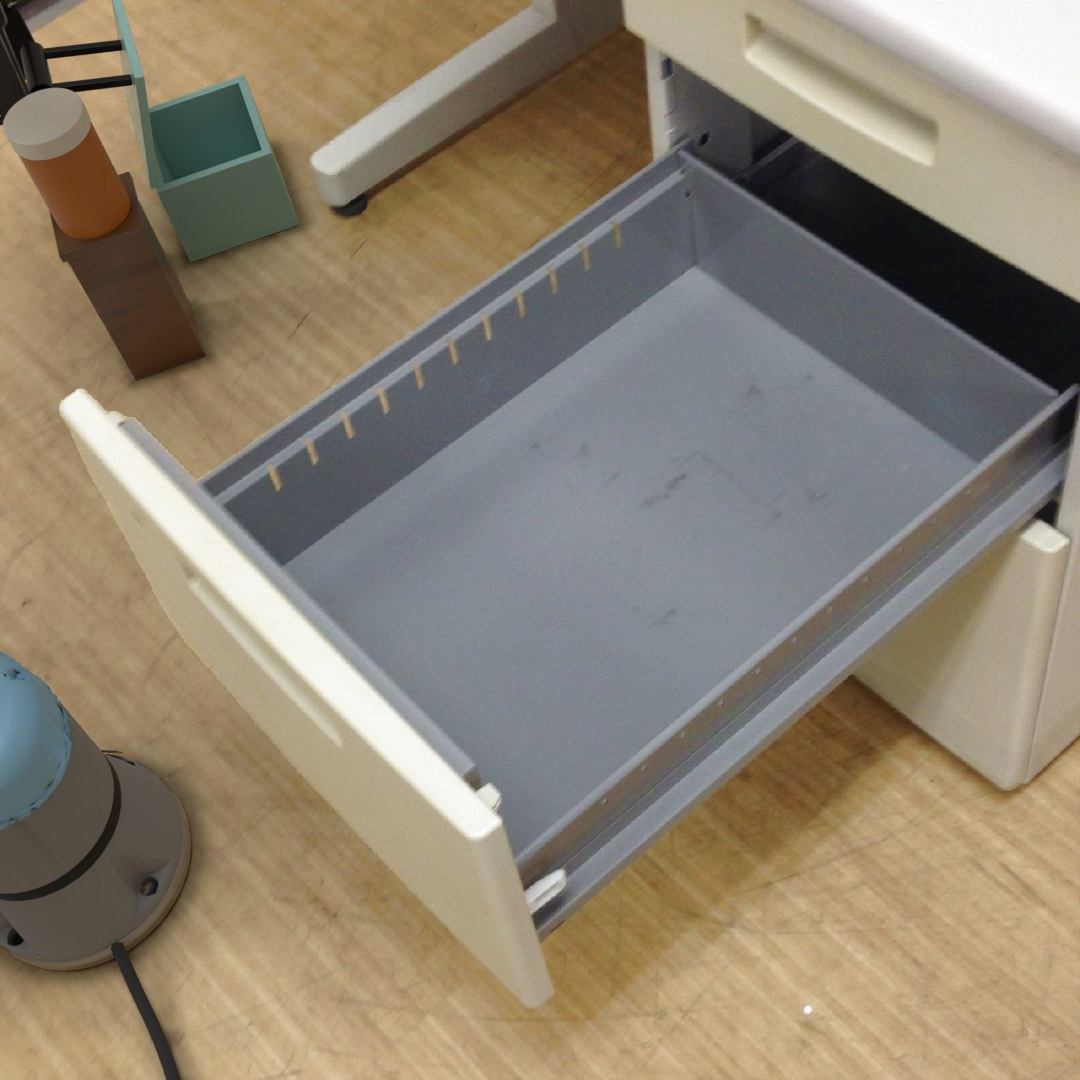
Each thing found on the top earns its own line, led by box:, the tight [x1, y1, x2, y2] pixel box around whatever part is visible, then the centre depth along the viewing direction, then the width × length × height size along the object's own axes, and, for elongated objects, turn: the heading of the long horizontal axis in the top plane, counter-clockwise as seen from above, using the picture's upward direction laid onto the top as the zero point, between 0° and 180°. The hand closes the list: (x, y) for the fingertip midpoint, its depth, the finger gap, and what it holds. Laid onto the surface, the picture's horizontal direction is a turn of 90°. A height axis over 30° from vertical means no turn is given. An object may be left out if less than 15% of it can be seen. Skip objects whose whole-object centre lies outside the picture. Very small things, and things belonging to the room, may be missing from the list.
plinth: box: [48, 171, 206, 381], centre depth 128 cm, size 7×7×16 cm
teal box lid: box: [20, 0, 160, 190], centre depth 130 cm, size 11×12×9 cm
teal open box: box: [148, 74, 300, 263], centre depth 140 cm, size 11×12×9 cm
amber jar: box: [2, 88, 130, 240], centre depth 117 cm, size 6×6×10 cm
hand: (44, 121), depth 130 cm, fingers open, 13 cm apart
